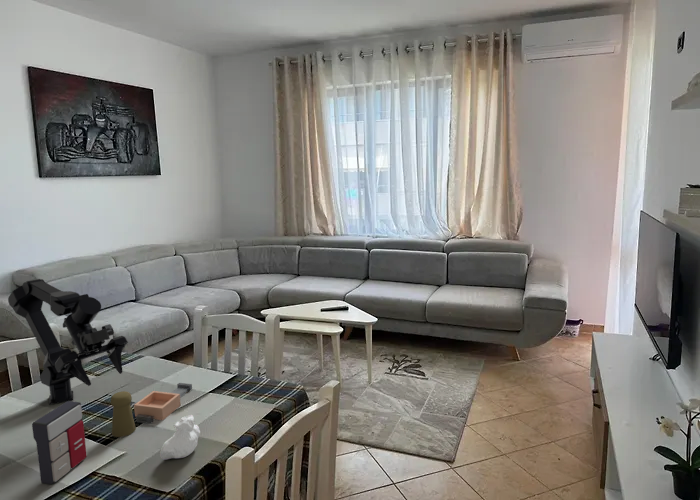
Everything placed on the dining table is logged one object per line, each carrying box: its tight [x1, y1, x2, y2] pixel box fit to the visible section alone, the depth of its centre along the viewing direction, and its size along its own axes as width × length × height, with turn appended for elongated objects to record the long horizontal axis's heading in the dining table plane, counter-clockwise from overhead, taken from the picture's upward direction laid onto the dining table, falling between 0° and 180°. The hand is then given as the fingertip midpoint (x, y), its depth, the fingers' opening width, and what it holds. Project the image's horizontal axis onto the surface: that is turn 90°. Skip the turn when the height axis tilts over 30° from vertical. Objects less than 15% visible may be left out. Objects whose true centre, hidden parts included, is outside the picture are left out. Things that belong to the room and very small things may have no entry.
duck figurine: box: [159, 414, 201, 461], centre depth 122 cm, size 12×8×11 cm
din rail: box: [135, 382, 193, 425], centre depth 148 cm, size 4×22×2 cm, turn 167°
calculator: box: [31, 400, 88, 485], centre depth 115 cm, size 11×4×15 cm, turn 168°
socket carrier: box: [133, 390, 181, 421], centre depth 144 cm, size 9×9×4 cm
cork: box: [110, 390, 137, 438], centre depth 133 cm, size 6×6×11 cm
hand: (106, 378), depth 136 cm, fingers open, 9 cm apart
